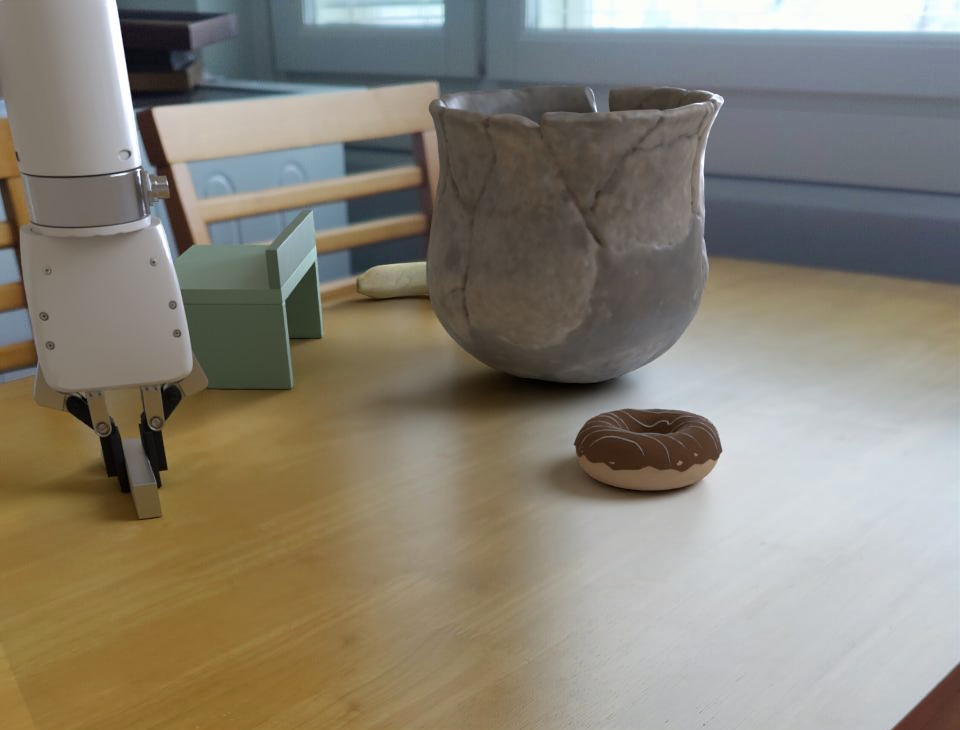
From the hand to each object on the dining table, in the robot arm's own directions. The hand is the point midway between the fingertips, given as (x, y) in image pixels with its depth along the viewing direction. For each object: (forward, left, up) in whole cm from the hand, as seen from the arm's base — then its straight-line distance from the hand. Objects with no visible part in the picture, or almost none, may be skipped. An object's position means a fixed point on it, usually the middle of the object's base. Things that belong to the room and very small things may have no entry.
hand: (139, 481), depth 88 cm
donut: (+37, +3, 0) cm, 37 cm away
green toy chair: (+1, +32, 0) cm, 32 cm away
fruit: (+16, +55, 0) cm, 57 cm away
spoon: (0, 0, 0) cm, 0 cm away
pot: (+31, +28, 0) cm, 42 cm away
